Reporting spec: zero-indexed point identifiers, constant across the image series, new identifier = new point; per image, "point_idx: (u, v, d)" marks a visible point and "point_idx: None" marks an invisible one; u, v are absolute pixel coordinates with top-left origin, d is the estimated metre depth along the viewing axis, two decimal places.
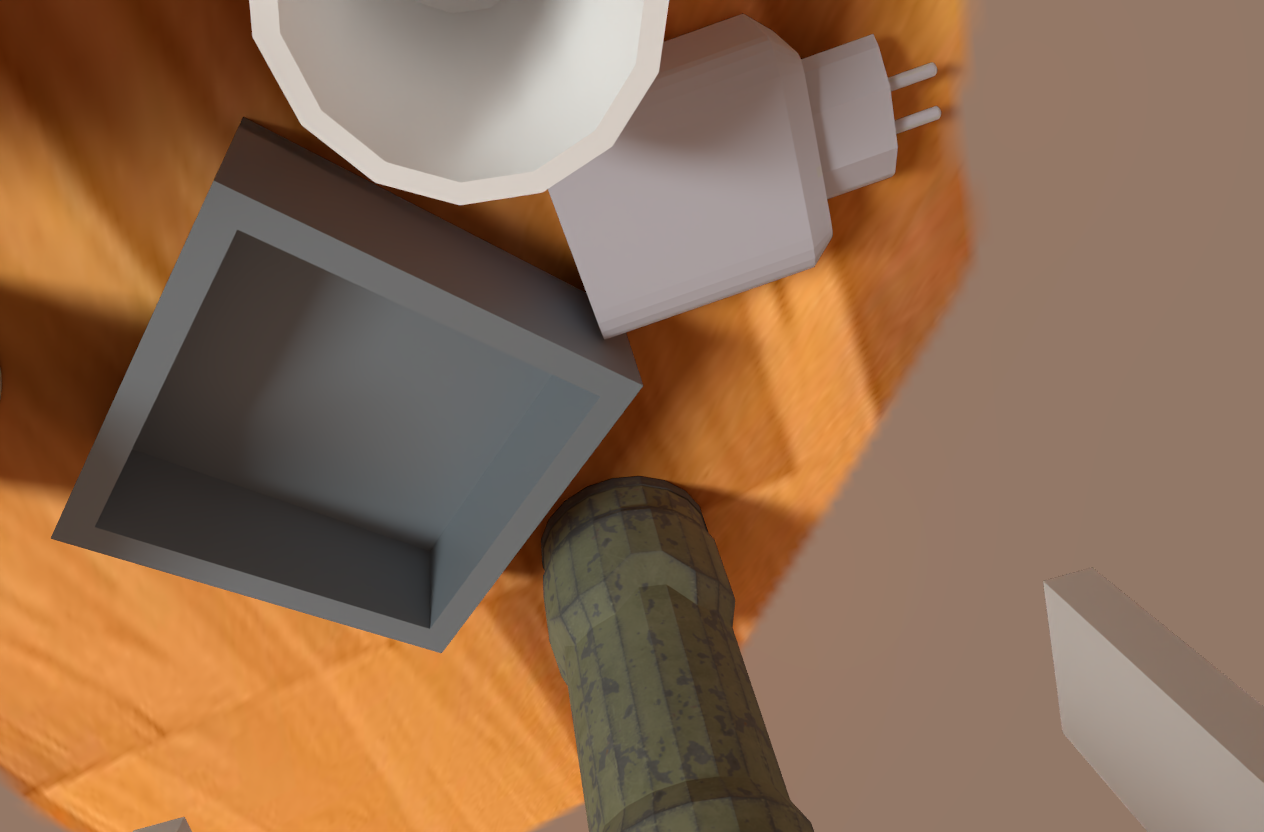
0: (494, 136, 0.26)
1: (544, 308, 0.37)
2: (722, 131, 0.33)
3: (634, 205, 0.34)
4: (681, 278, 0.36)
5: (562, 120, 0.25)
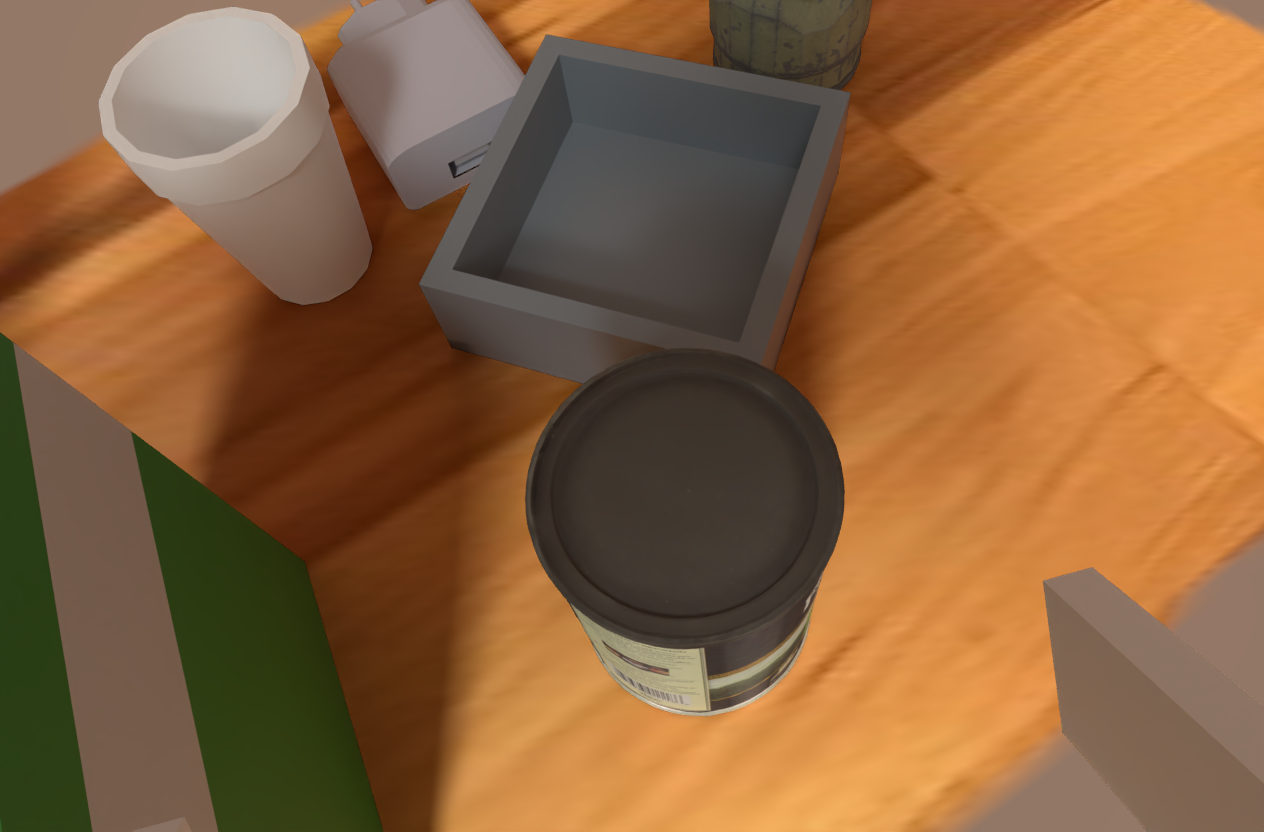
0: None
1: None
2: (376, 67, 0.54)
3: (428, 96, 0.52)
4: (477, 58, 0.53)
5: (284, 57, 0.45)
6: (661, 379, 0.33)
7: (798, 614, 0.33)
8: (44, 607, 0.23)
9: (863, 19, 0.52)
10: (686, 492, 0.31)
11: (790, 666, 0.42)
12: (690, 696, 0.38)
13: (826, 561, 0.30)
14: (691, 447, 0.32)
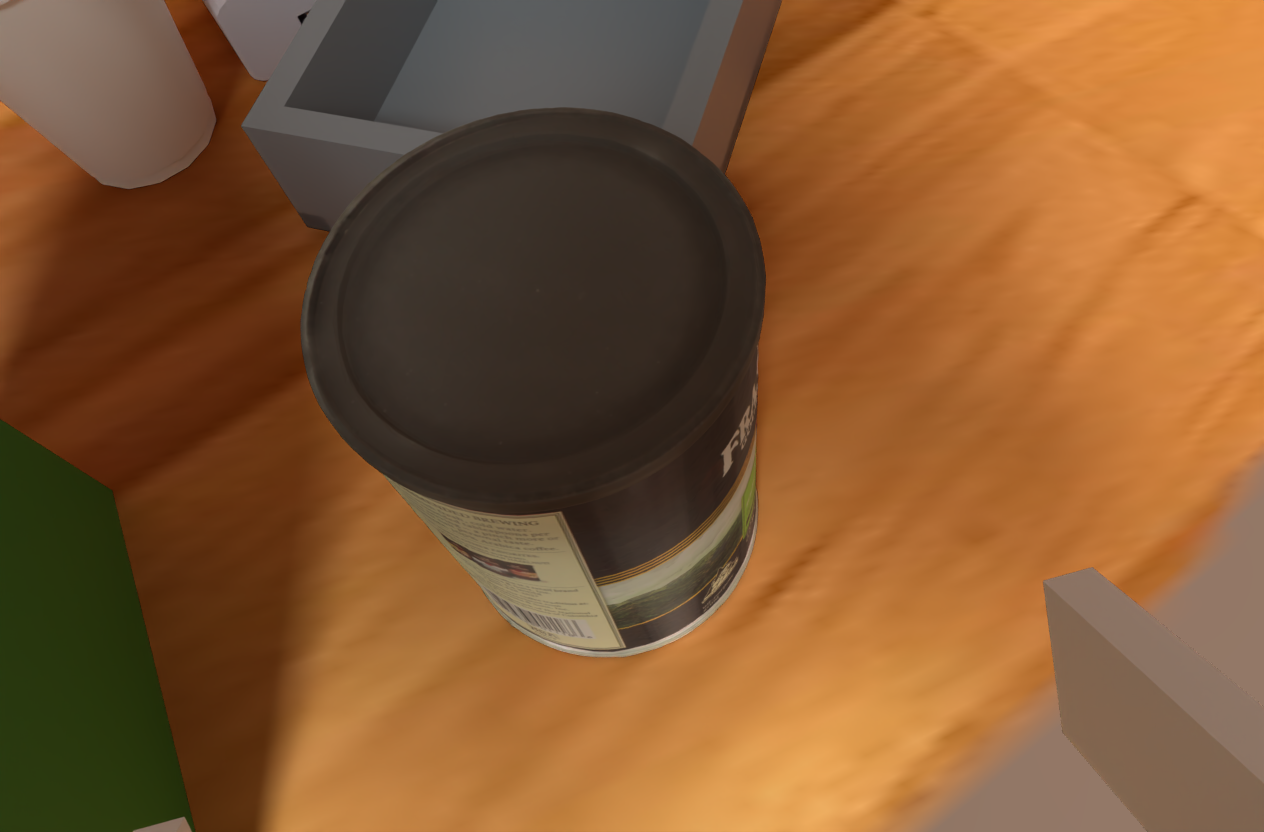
0: None
1: None
2: None
3: None
4: None
5: None
6: (504, 150, 0.23)
7: (714, 476, 0.23)
8: None
9: None
10: (534, 293, 0.21)
11: (732, 587, 0.32)
12: (587, 621, 0.27)
13: (739, 372, 0.20)
14: (544, 233, 0.22)
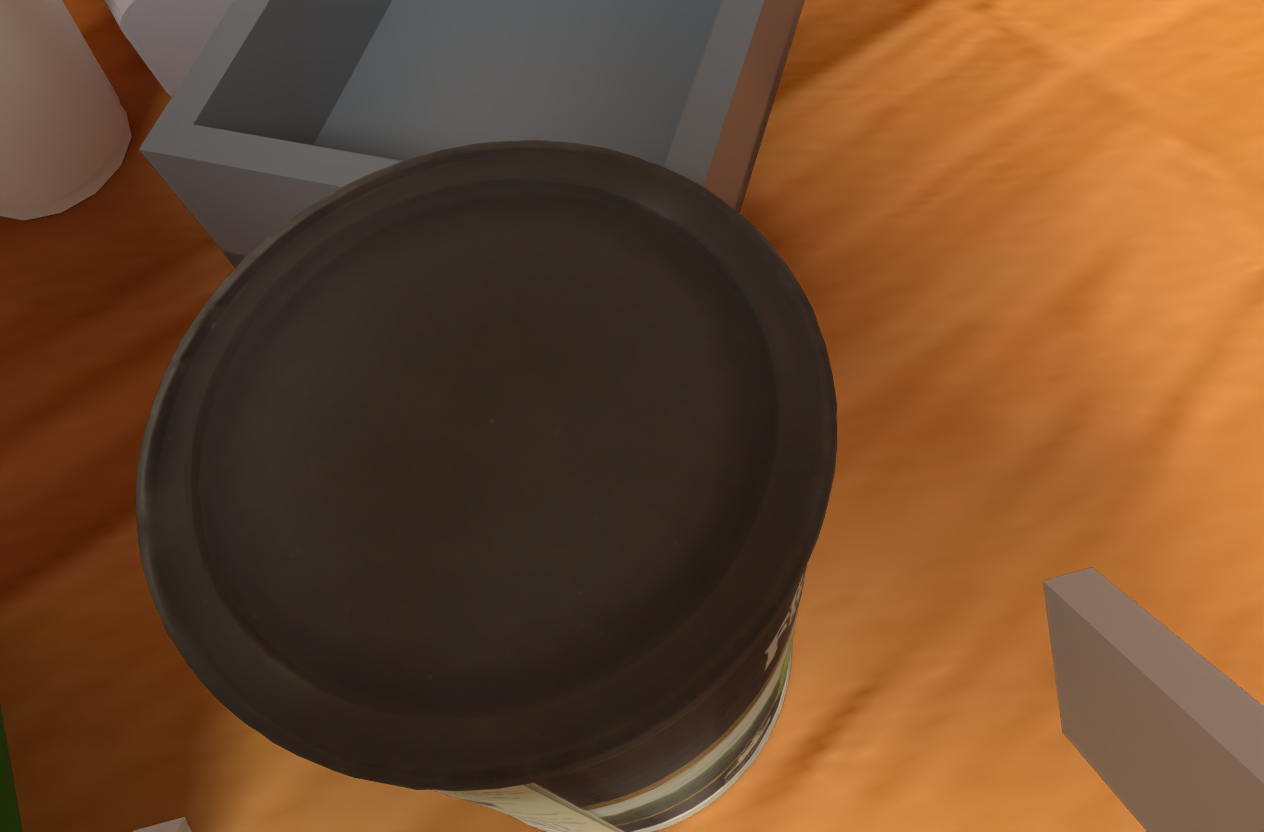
0: None
1: None
2: None
3: None
4: None
5: None
6: (448, 203, 0.16)
7: (753, 678, 0.16)
8: None
9: None
10: (486, 427, 0.14)
11: (761, 745, 0.24)
12: (573, 825, 0.20)
13: (802, 563, 0.13)
14: (503, 331, 0.15)
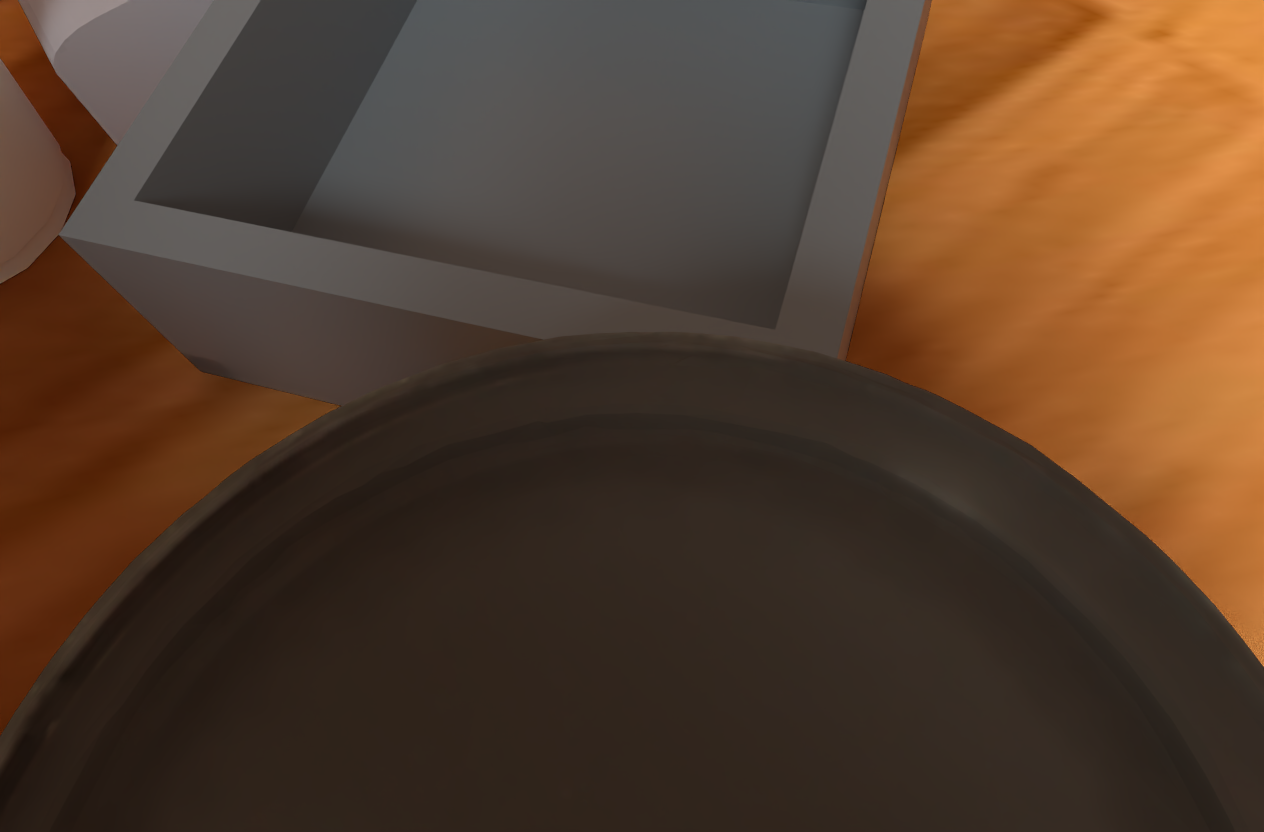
0: None
1: None
2: None
3: None
4: None
5: None
6: (518, 460, 0.08)
7: None
8: None
9: None
10: None
11: None
12: None
13: None
14: (644, 772, 0.07)
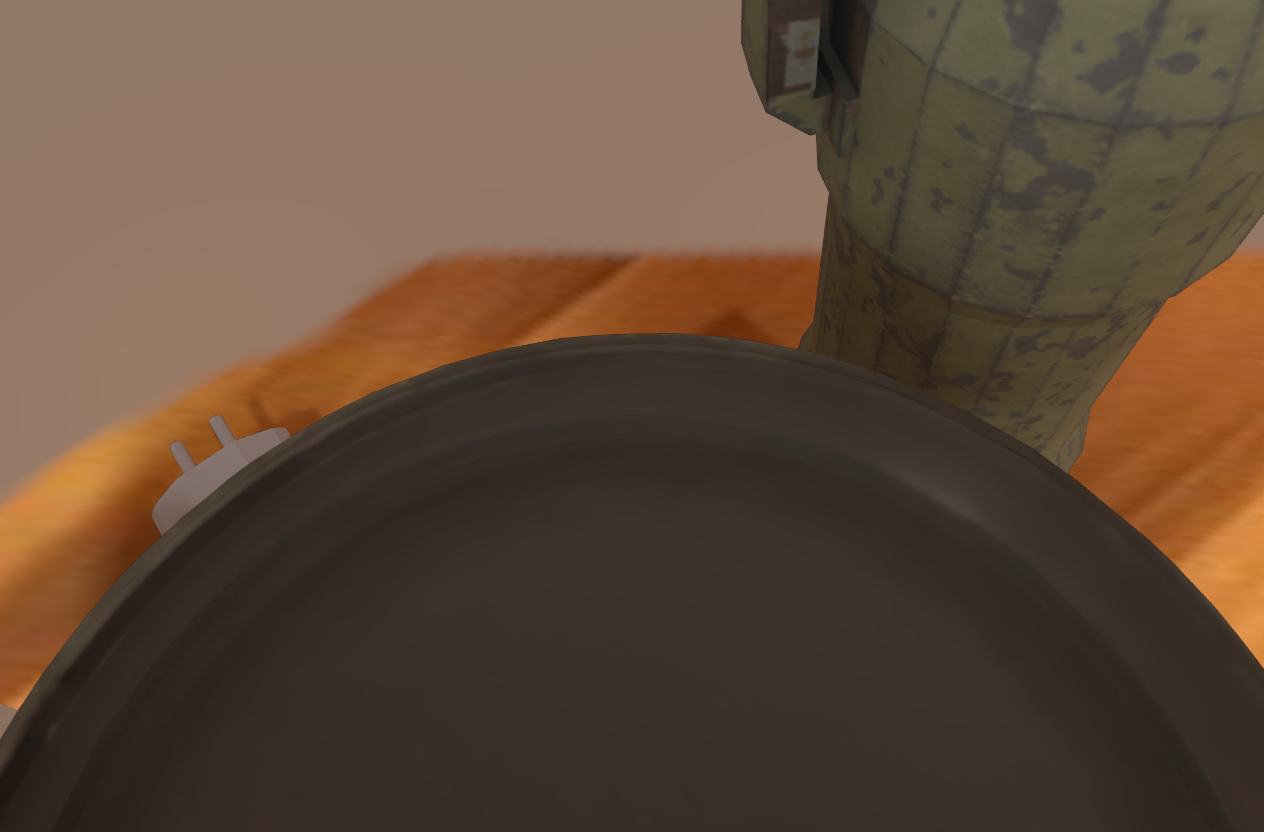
0: None
1: None
2: None
3: None
4: None
5: None
6: (519, 462, 0.08)
7: None
8: None
9: None
10: None
11: None
12: None
13: None
14: (645, 774, 0.07)
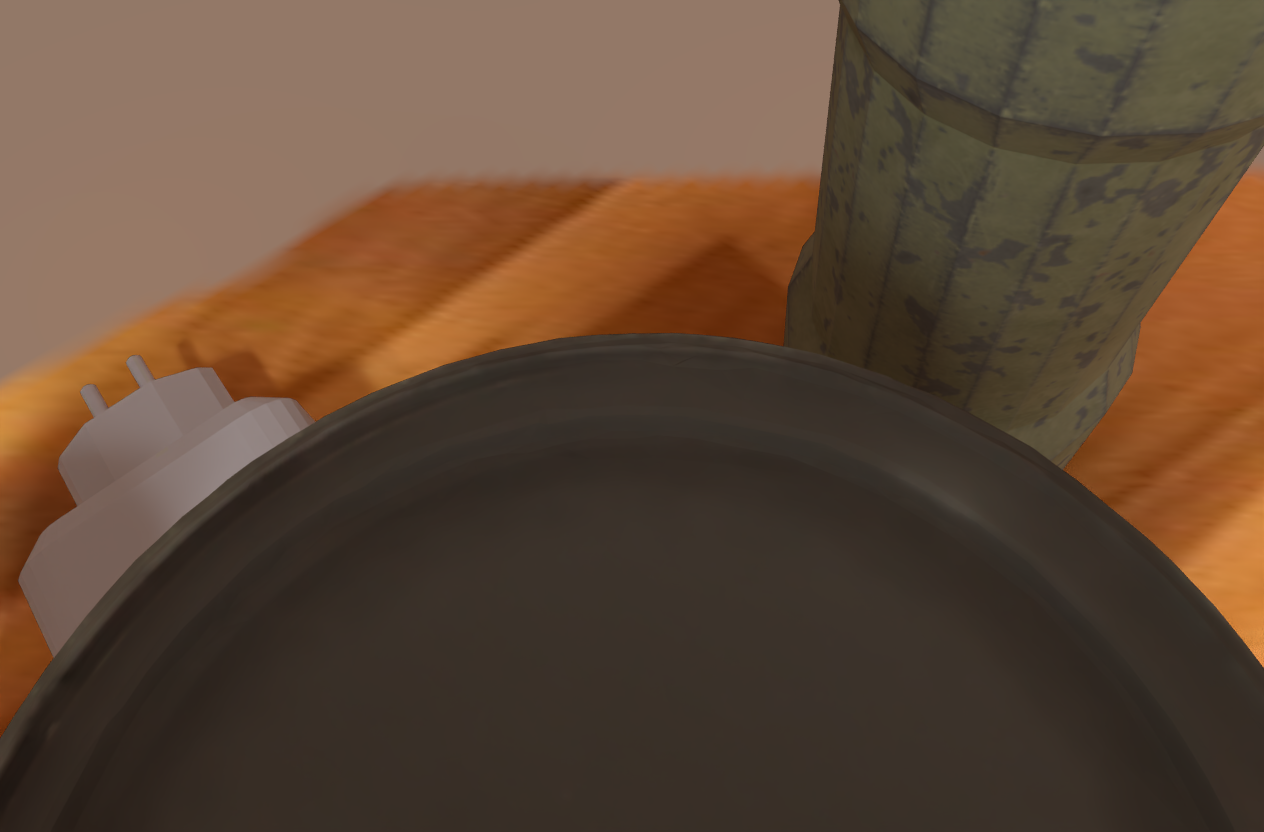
0: None
1: None
2: (108, 588, 0.27)
3: None
4: None
5: None
6: (519, 462, 0.08)
7: None
8: None
9: None
10: None
11: None
12: None
13: None
14: (644, 774, 0.07)
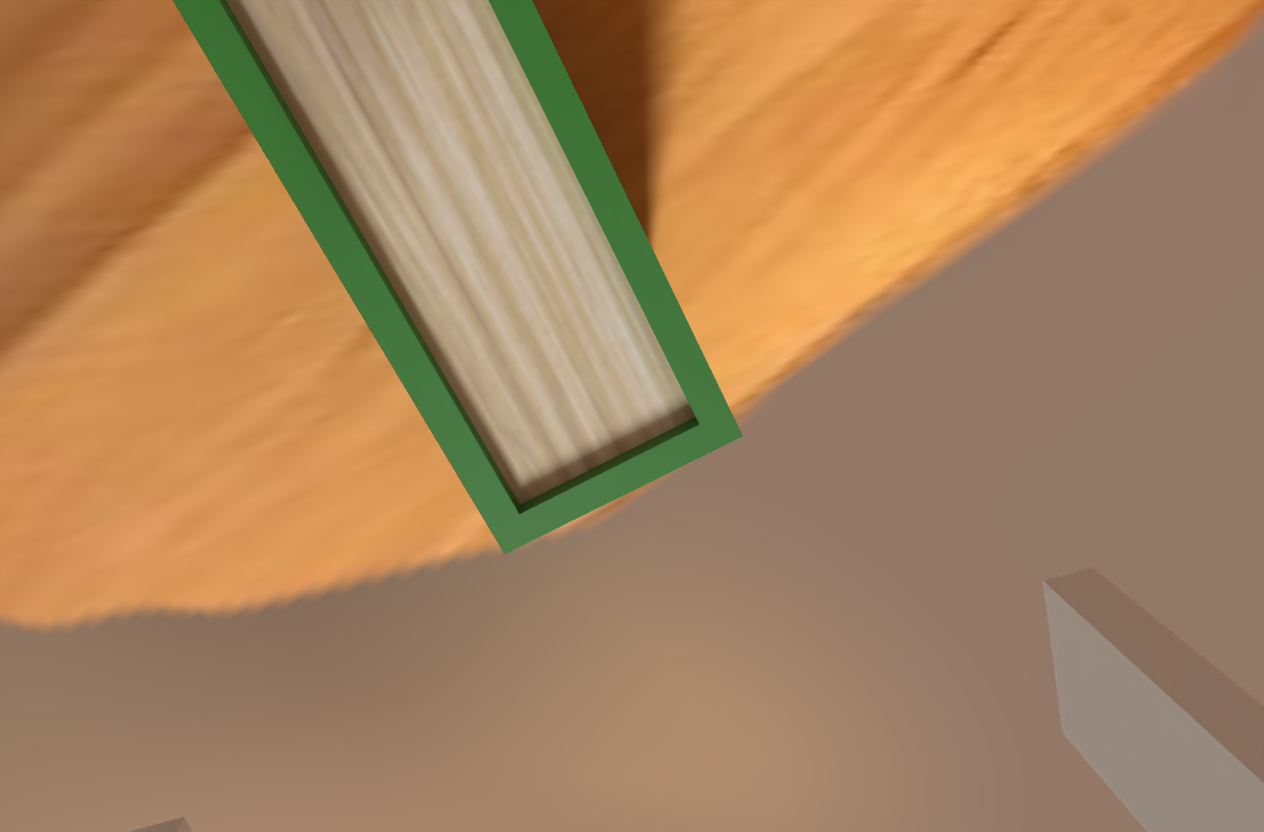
0: None
1: None
2: None
3: None
4: None
5: None
6: None
7: None
8: None
9: None
10: None
11: None
12: None
13: None
14: None
